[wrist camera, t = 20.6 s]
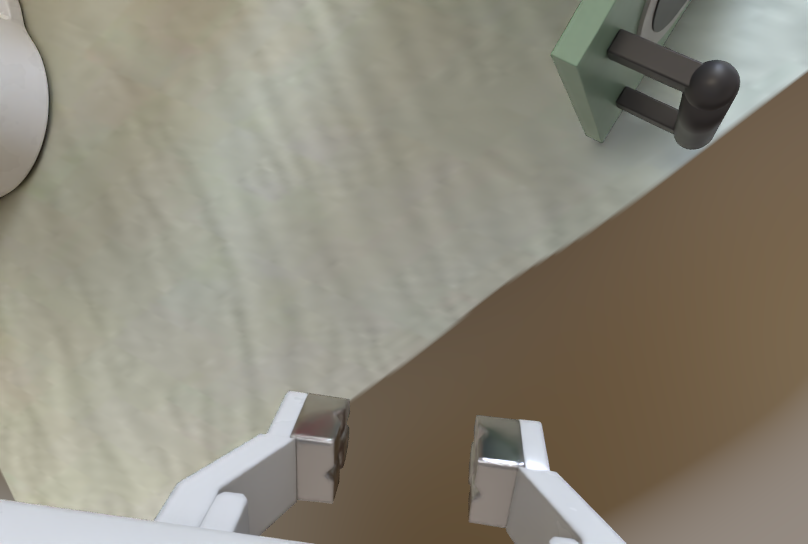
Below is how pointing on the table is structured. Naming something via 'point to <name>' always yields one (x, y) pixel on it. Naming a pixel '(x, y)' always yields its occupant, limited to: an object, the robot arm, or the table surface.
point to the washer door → (639, 70)
